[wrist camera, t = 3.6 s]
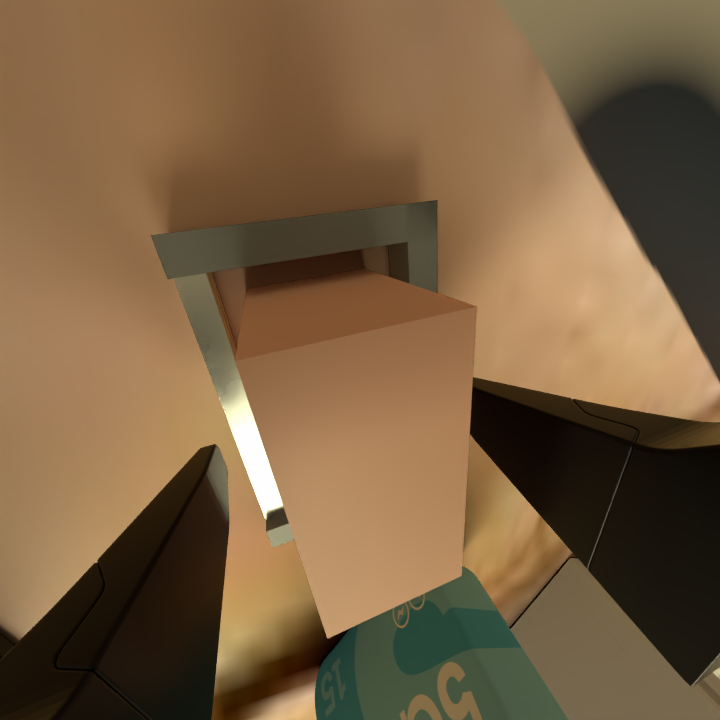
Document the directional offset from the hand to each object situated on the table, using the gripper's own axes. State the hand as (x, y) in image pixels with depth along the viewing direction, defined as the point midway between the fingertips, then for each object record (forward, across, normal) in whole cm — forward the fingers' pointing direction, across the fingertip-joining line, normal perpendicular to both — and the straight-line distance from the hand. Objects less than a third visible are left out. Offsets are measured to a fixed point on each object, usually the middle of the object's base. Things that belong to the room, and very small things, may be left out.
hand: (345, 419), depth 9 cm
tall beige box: (+3, 0, 0) cm, 3 cm away
